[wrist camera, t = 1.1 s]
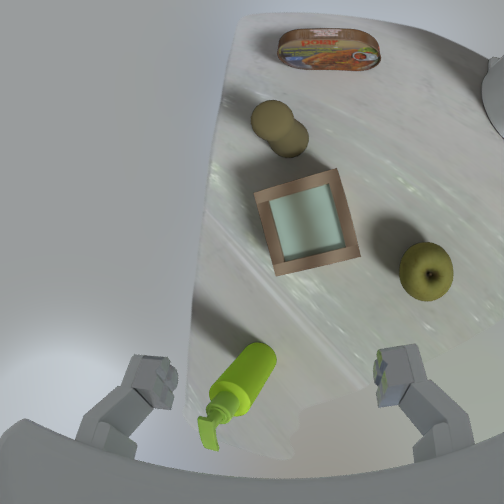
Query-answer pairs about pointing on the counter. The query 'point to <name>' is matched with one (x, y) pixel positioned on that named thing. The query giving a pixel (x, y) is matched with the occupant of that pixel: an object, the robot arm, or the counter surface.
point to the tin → (329, 49)
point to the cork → (279, 128)
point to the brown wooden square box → (307, 223)
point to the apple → (426, 271)
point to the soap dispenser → (236, 390)
